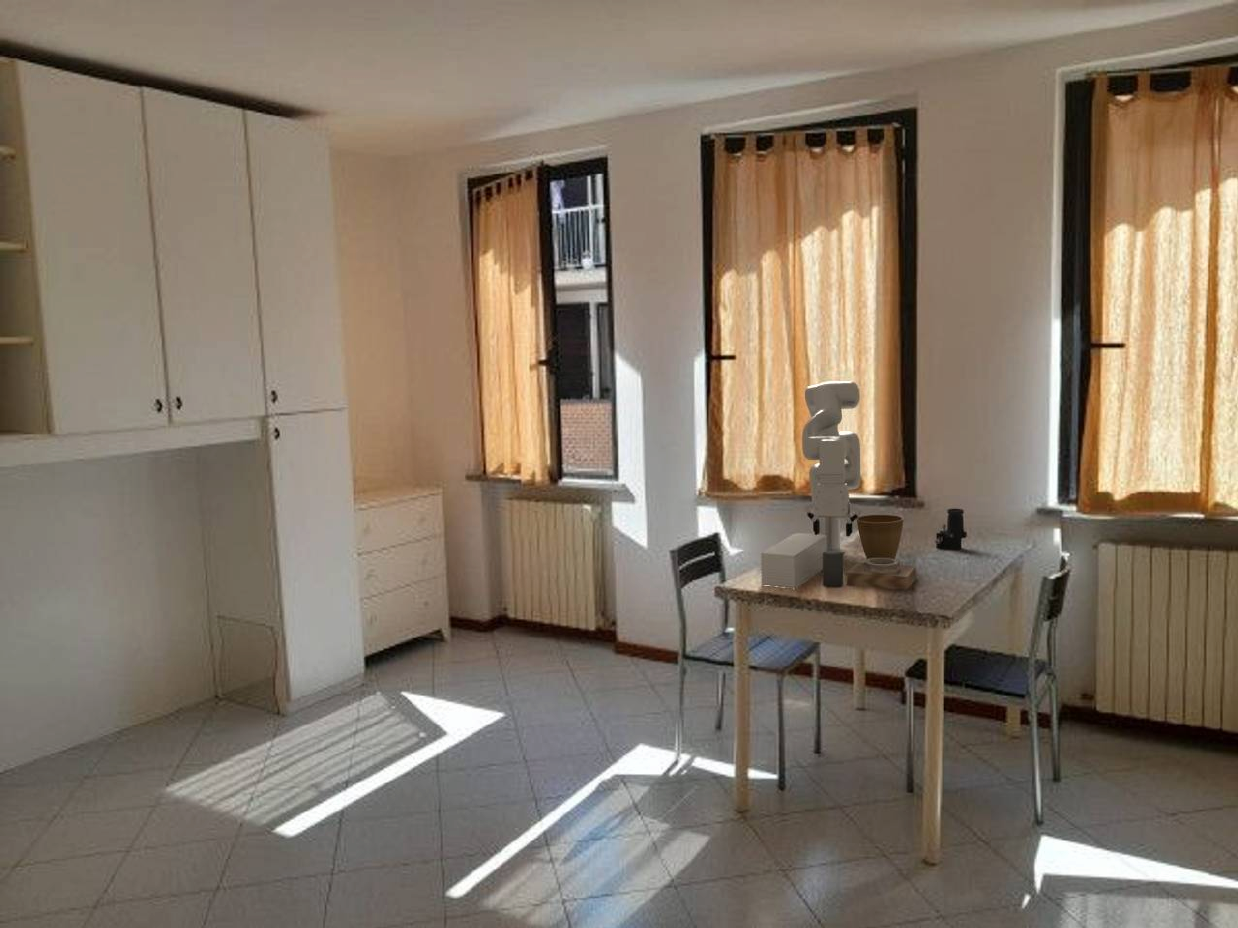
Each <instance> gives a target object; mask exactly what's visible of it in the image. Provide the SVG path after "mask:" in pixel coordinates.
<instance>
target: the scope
mask: <svg viewBox="0 0 1238 928" xmlns="http://www.w3.org/2000/svg"><path fill="white" fill-rule="evenodd" d="M946 512H947V520H946V521H947V523H946V524H945V523H943V524H942V530H939V532H936V533H935V534H936V535H935V536H936V537H935V538H936V539H935V540H934V543H935V544H936V549H944V550H951V551H959V550H962V539H966V538H967V537H968V535H967V534H968V533H967V531H965V527H964V525H965V524H964V514H965V511H964V509H962V508H948V509H947V510H946Z"/></svg>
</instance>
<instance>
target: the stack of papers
mask: <svg viewBox="0 0 1238 928" xmlns="http://www.w3.org/2000/svg"><path fill="white" fill-rule="evenodd" d="M826 543H827V539H826V535H815V534H812V533H800V532H795V533H793V534H792V535H790V536H788V537H786V538H785V539H783V540H781V541H779V542H778V543H776V544H774V545H772V546H771V547H769V548H766V550H763V551H761V552H760V559H761V560H760V565H761V566H760V567H761V569H760V570H761V573H760V574H761V586H762V585H770V586H778V587H785V588H794V589H793V590H796V589H797V588H798V586H799V587H800V586H802V585H803V584H804V583H806V582H807V581H809V580H810V579H811V578H812V577H814V576H815V575H817V574H819V572H821V571H823V552H826V551H827V550H826V549H827V547H826V546H827V544H826ZM801 584H802V585H801ZM785 588H784V589H785ZM795 588H796V589H795Z"/></svg>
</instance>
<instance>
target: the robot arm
mask: <svg viewBox="0 0 1238 928" xmlns="http://www.w3.org/2000/svg"><path fill="white" fill-rule="evenodd" d="M860 395H861V394H860V389H859V386H858V384H857V383H856V382H854V381H851V380H849V381H846V380H845V381H843V380H842V381H825V382H821V383H819V384H813V385H809V386H807V387H806V389H805V391H804V399H805V403H806V406H807V409H808V412H809V413H810V414H809V415H810V416H811V417H810V418H809V420H808V421H807V422H806V424H805V425H804V427H803V429H802V432H801V433H802V434H801V446H802V449H801V450H802V455H803V457H804V458H805V460H808V461H819V462H818V463H815V464H812V466H810V468H809V472H808V475H809V476H808V478H809V484H810V485H809V486H810V491H811V503H810V504H807V505H806V506H804V508H803V509H804V511H805V513H806V515H807V517H808V518H809V519H810V520H811V523H812V527H811V528H812V529H811V530H812V533H811V534H815V535H826V539H827V543H826V544H827V546H826V547H827V549H826V550H827V551H839V552H842V553H843V554H844V553H845V551H846V550H845V547H844V546H841V518H843V519H844V520H845V521H846V523H845V536H846V537H850V536H851V535H852V534H853V523H854V522H855V521H856V520H857V518H858V517H860V514H861V512H862V508H860V507H859V506H857V505H855V504H854V503H851V502H850V492H849V491H850V490H851V491H853V490H857V489H859V487H860V485H861V443H860V438H859V436H858V434H857V433H855V432H854V431H839V430H838V429H839V428H838V426H839V424H840V423H841V422H842V420H843V411H842V410H851V409H856V408H857V406H858V405H859V403H860ZM845 461H846V462H845ZM811 509H812V510H811ZM851 510H852V511H854V513H853V515H852V516H851V514H850V513H851Z"/></svg>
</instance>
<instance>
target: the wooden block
mask: <svg viewBox="0 0 1238 928" xmlns="http://www.w3.org/2000/svg"><path fill="white" fill-rule="evenodd" d="M900 562H901V561H900V560H897V559H896V558H895V559H892V558H879V557H878V558H870V559H866V558H865V560H864V561H863V562H859V561H858V562H856V563H855V564H854V565H853V566H852V567H851V568H849V570H847V572H846V586H850V587H851V586H853V587H865V588H866V587H867V588H877V589H878V588H879V589H889V590H902V591H908V590H909V589H910V587H911V586H912V585H913V583H914V582H915V581H916V577H917V566H915V565H902V564H901V563H900ZM900 564H901V565H900Z"/></svg>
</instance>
